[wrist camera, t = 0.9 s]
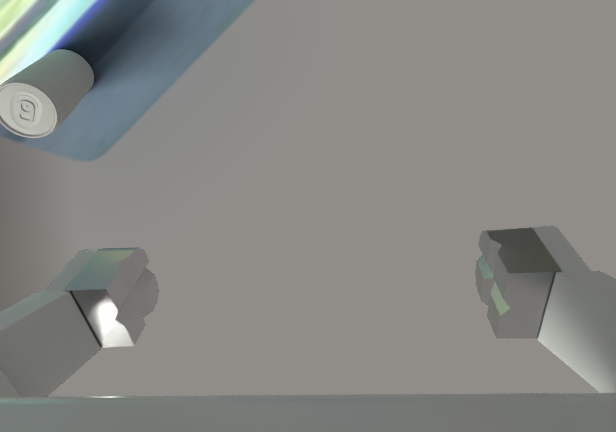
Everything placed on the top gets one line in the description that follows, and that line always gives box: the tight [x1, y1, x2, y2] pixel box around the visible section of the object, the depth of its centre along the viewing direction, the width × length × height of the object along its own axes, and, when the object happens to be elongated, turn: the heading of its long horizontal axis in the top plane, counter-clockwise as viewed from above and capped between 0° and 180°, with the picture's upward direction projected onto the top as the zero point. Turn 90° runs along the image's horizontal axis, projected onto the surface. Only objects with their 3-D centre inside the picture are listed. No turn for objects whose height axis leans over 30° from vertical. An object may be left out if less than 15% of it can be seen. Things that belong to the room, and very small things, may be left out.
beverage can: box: [0, 49, 94, 138], centre depth 38 cm, size 5×5×12 cm
